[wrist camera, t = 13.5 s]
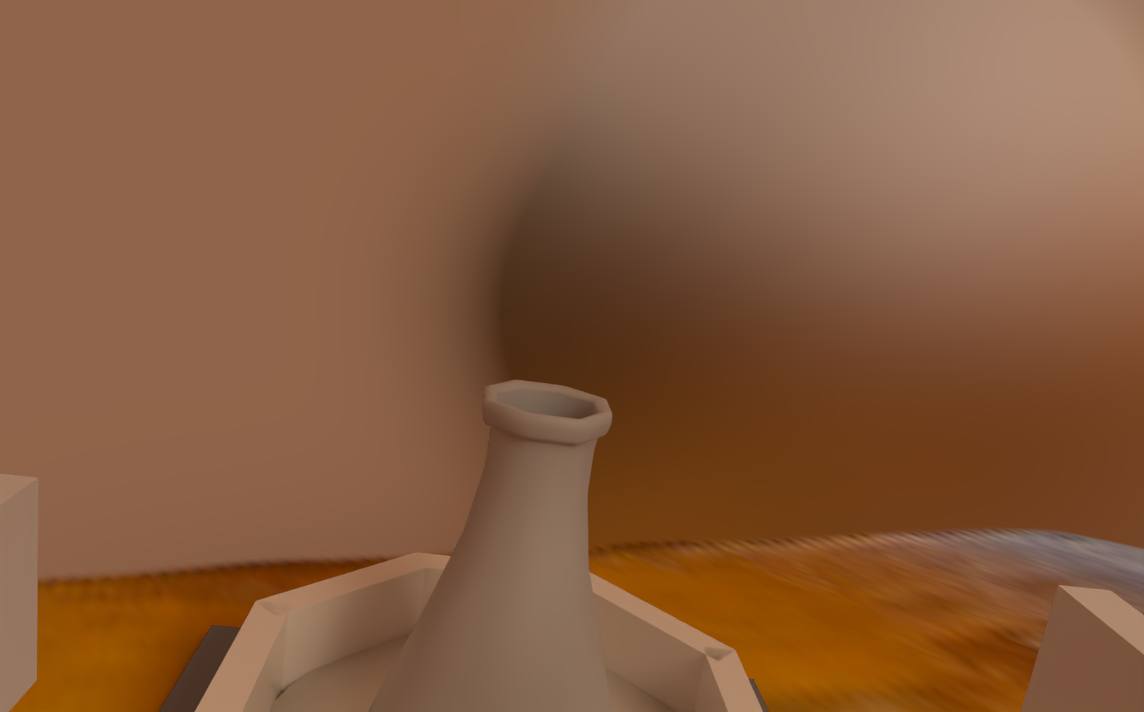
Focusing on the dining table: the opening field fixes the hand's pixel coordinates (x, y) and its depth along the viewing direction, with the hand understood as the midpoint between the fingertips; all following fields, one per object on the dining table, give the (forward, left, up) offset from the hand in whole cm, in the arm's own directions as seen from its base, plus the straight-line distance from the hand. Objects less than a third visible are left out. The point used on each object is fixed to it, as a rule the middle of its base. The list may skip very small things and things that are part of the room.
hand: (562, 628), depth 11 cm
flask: (0, -10, -10) cm, 14 cm away
